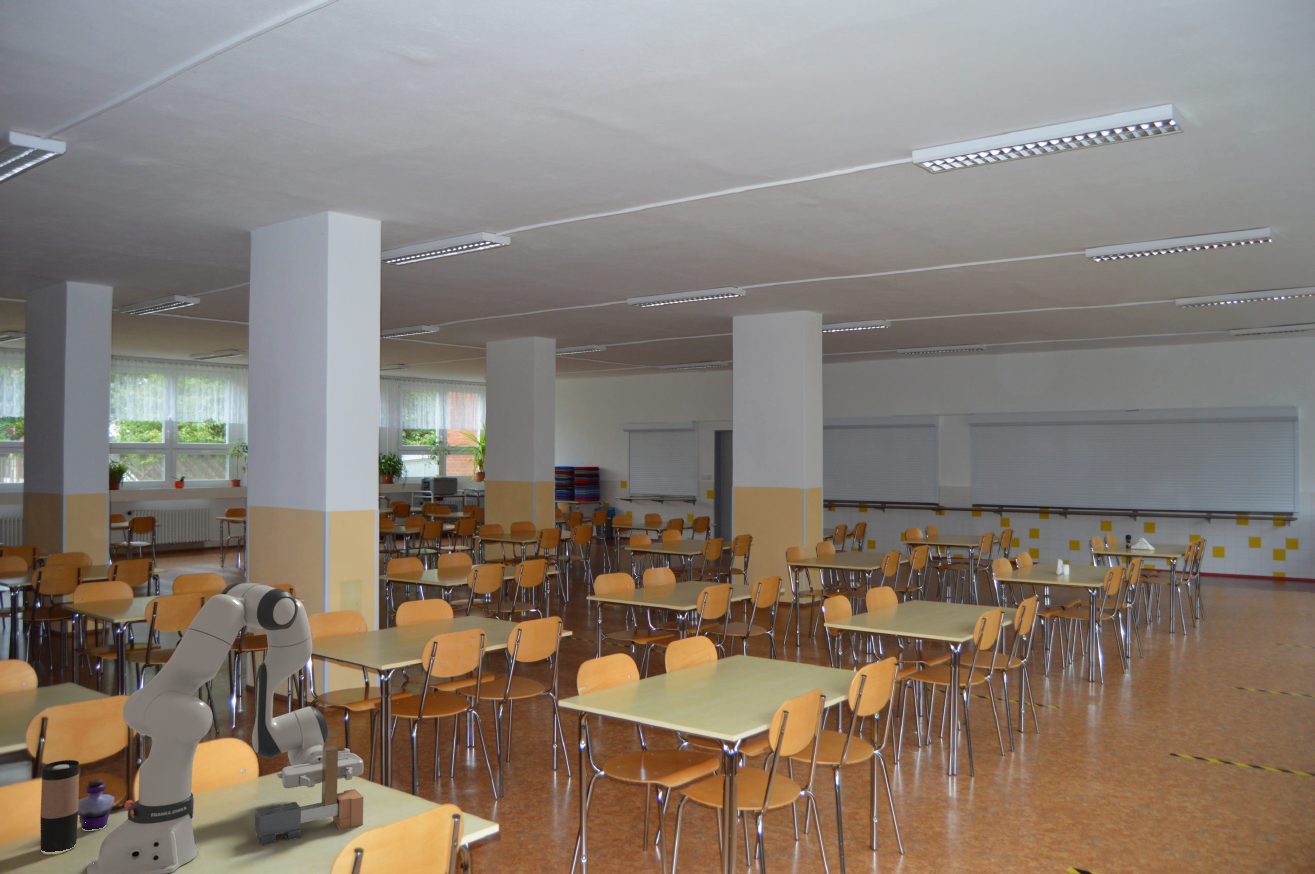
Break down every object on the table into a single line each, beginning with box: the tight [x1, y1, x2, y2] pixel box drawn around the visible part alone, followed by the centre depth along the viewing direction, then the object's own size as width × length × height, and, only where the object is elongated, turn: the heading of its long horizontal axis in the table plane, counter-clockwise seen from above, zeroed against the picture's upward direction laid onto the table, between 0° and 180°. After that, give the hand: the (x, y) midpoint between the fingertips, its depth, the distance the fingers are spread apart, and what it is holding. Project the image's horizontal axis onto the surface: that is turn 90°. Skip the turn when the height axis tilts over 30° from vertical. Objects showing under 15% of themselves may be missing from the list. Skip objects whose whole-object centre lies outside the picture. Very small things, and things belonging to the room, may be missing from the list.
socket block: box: [332, 788, 364, 830], centre depth 238 cm, size 6×7×7 cm
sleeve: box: [254, 801, 302, 847], centre depth 228 cm, size 10×6×7 cm, turn 125°
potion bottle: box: [78, 778, 116, 830], centre depth 233 cm, size 9×9×12 cm
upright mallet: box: [300, 745, 339, 824], centre depth 234 cm, size 14×3×17 cm, turn 125°
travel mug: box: [39, 759, 80, 852], centre depth 221 cm, size 8×8×20 cm
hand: (330, 780), depth 235 cm, fingers open, 8 cm apart
